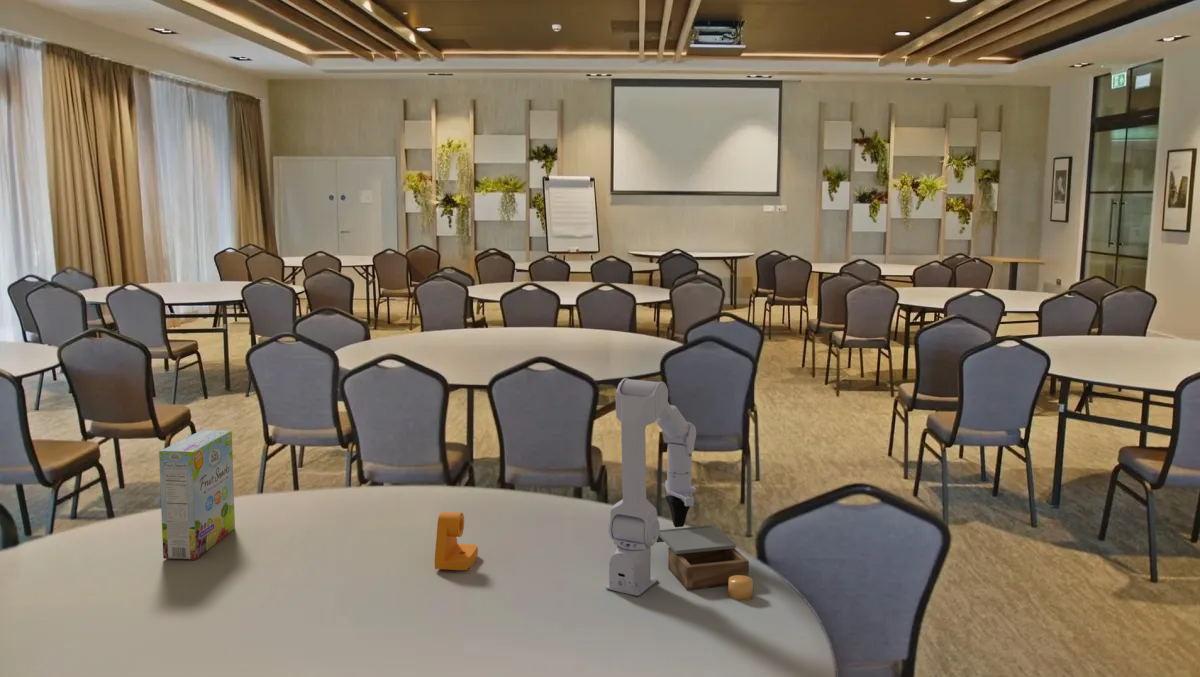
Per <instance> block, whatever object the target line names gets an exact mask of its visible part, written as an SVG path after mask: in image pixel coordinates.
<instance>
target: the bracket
mask: <svg viewBox="0 0 1200 677" xmlns="http://www.w3.org/2000/svg"><path fill="white" fill-rule="evenodd" d="M464 516H465V515H464V512H454V511H451V512H450V511H441V512H440V513H439V515H438V518H437V528H436V538H435V550H434V553H435V554H434V570H450V571H466V570H471V568H472V567H471V566H473V565H474V564H475V562H476V560H477V556H478V554H479V548H478V545H477V544H471V543H470V544H467V543H458V539H457V538H461V537H462V536H463V534H464V527H465V517H464ZM473 563H474V564H473Z"/></svg>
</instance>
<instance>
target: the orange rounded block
mask: <svg viewBox="0 0 1200 677" xmlns="http://www.w3.org/2000/svg"><path fill="white" fill-rule="evenodd" d="M753 585H754V579H752V577H750V576H749V575H748V576H743V575H735V576H731V577H729V582H728V586H727V587H728V588H727V589H728V590H727V591H728V592H727V596H728V598H730V599H732V600H735V601H741V602H745V601H749V600H751V599H752V598H753V596H754V595H753V594H754V593H753V590H754V587H753Z"/></svg>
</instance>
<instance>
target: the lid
mask: <svg viewBox="0 0 1200 677" xmlns="http://www.w3.org/2000/svg"><path fill="white" fill-rule="evenodd" d="M656 543H665V544H666V545H667V546H668V548H669V547H670V548H671V549H672V550H673V551H674V552H675V554H684V553H694V552H703V551H713V550H723V549H733V548H735V549H737V545H736V543H734V542H733V541H732V540H731V539H730V538H729V537H728V536H726V534H724V533H723V532H722V531H721V530H720V529H719V528H717V526H716V525H715V524H712V525H711V524H710V525H701V526H700V525H699V526H698V525H697V526H690V527H689V526H688V527H676V528H669V529H668V528H667V529H660V531H659V536H658V539H657V541H656Z"/></svg>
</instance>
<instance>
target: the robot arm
mask: <svg viewBox="0 0 1200 677" xmlns="http://www.w3.org/2000/svg"><path fill="white" fill-rule="evenodd" d="M668 400H669V389H668V386H667V385H666V383H665V382H664V381H652V380H650V381H649V380H641V379H639V380H638V379H631V378H628V377H626V378H623V379H621V381H620V382H619V383H618V385H617V388H616V391H615V413H616V414H615V417H616V419H617V420H618V421H620V423H621V424H620V427H621V428H620V429H621V430H620V433H621V437H620V438H621V476H622V478H621V479H622V480H621V481H622V482H621V483H622V499H621V500H619V501H617V502H616V503H614V505H613V506H612V508H610V513H609V514H610V516H609V520H608V529H607V530H608V534H609V537H610V538H611V540H613V544H614V545H615V546H616V549H615V552H614V554H613V555H611V558H610V560H609V562H608V563H609V564H608V566H609V571H608V572H609V573H608V574H609V577H608V580H609V582H608V584H607V585H605V589H606V590H611V591H616V592H619V593H623V594H628V595H632V596H637V597H638V596H640V595H642V594H643V593H644V592H645V591H647V590H648V589H650V587H652V586H653V585H654V584H655V583H657V582H658V581H659V579H658V577H653V576H651V562H652V561H651V560H652V558H651V557H652V556H651V553H652V552H651V547H653V546H654V545H655V544H656V543H657V542H656V541H657V539H658V536H659V531H660V530H661V529H660V527H661V526H660V521H659V519H658V509H657V508H656V507H655V506H654V505H653V504H652V503H651V502H650V501H649V500H648V499H647V466H646V465H647V464H646V462H647V460H646V458H647V457H646V456H647V455H646V450H647V448H646V447H647V446H646V428H647V426H649V425H652V424H655V423H657V425H658V427H659V428H660V429H661V432H662V433H661V434H662V438H663V442H664V444H667V456H666V457H667V458H666V459H667V463H666V464H667V467H666V468H667V470H666V476H667V477H666V480H665V483H664V485H665V486H664V489H665V492H666V494H668V495H665V497H664V498H665V501H666V503H667V505H668V508H669V510H670V514H671V520H672V523H673V527H675V528H684V525H685V523H686V520H687V515H688V512H689V510H690V508H691V507H693V506H695V497H694V496H693V493H695V492H696V491H697V489H696V487H695V486H692V470H693V468H692V464H693V462H692V460H693V456H692V455H693V453H694V450H695V442H696V438H697V428H696V426H695V425H694V424H693V423H692V422H691V421H687V420H686V418H684V416H683V415H682V413H681V412H680V410H679V409H678V407H677V405H673V404H670V403H669V401H668Z"/></svg>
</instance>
